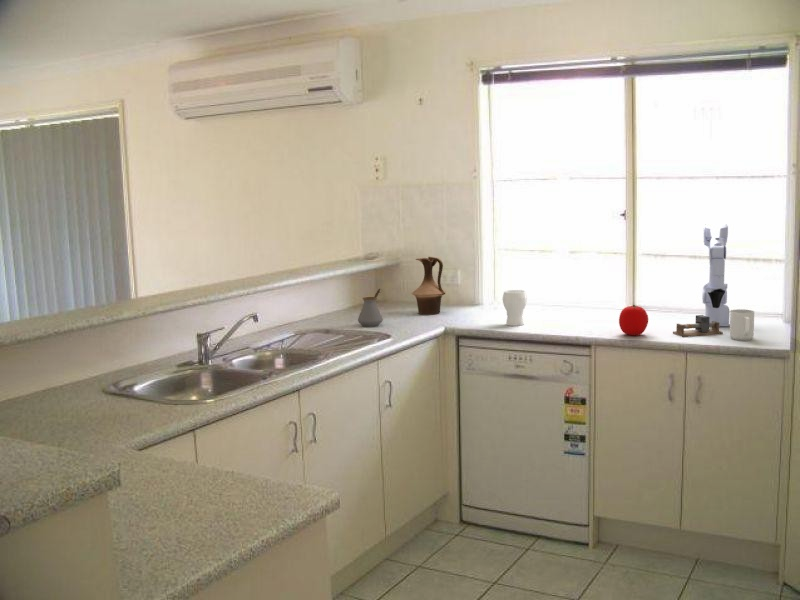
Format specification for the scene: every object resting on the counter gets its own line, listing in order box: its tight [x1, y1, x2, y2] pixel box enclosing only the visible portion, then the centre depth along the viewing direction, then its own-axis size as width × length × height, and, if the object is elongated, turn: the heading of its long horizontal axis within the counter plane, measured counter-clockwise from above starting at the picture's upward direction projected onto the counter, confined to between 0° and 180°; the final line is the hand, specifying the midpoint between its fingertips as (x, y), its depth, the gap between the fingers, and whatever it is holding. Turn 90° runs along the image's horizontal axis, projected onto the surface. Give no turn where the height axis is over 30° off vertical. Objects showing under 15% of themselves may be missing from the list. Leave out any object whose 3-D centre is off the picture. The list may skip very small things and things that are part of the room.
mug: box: [729, 308, 755, 341], centre depth 337 cm, size 12×9×11 cm
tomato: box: [618, 304, 649, 336], centre depth 352 cm, size 12×12×13 cm
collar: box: [694, 314, 710, 332], centre depth 351 cm, size 3×5×6 cm, turn 12°
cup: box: [502, 289, 528, 327], centre depth 382 cm, size 11×11×15 cm
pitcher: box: [411, 256, 447, 316], centre depth 417 cm, size 18×17×28 cm
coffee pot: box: [357, 288, 384, 328], centre depth 394 cm, size 21×12×15 cm, turn 163°
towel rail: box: [672, 321, 724, 338], centre depth 351 cm, size 18×8×4 cm, turn 102°
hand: (715, 307), depth 351 cm, fingers closed
